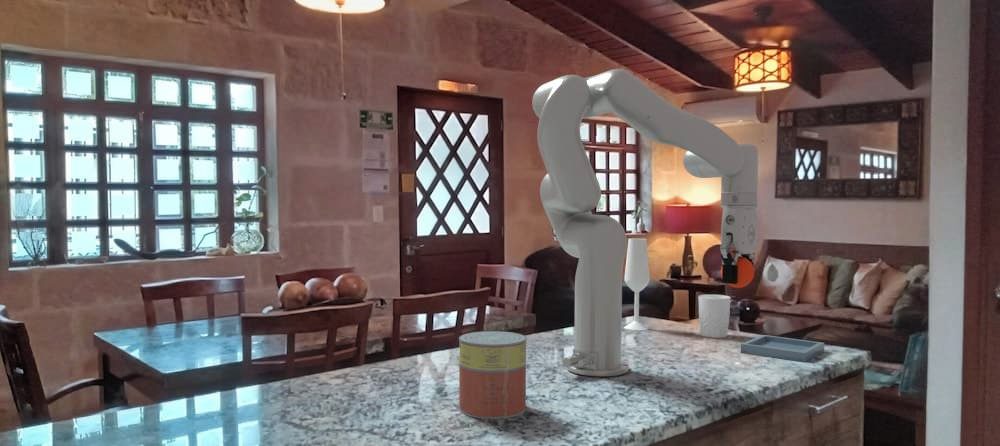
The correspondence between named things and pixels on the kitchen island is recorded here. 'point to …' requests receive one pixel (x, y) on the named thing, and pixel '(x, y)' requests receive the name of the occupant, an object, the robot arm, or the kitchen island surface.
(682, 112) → the robot arm
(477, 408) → the canned food
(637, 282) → the champagne flute
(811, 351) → the dish
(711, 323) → the white cup
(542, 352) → the kitchen island surface
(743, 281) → the clementine
